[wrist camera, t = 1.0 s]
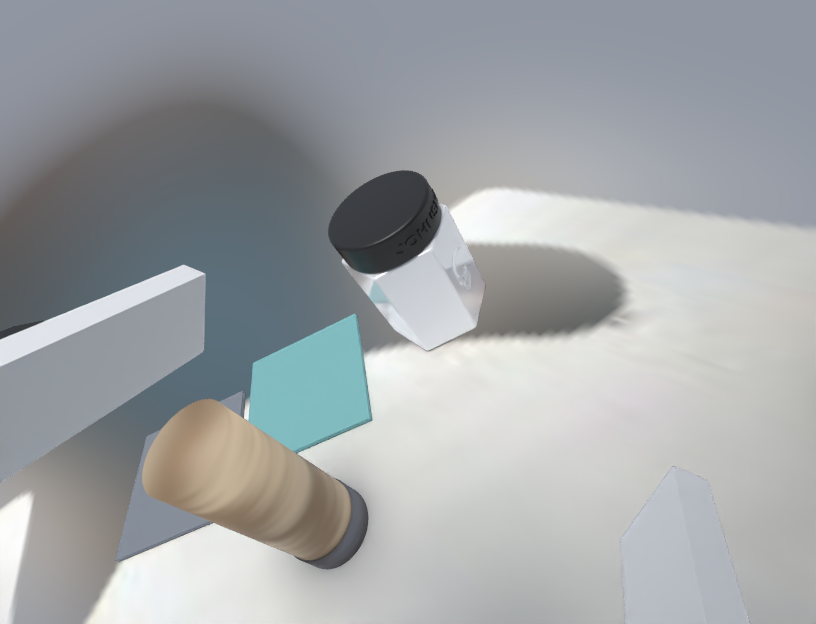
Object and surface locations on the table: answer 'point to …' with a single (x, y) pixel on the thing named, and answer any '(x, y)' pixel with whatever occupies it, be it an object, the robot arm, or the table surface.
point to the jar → (409, 258)
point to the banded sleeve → (253, 486)
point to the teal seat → (312, 388)
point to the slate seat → (160, 507)
